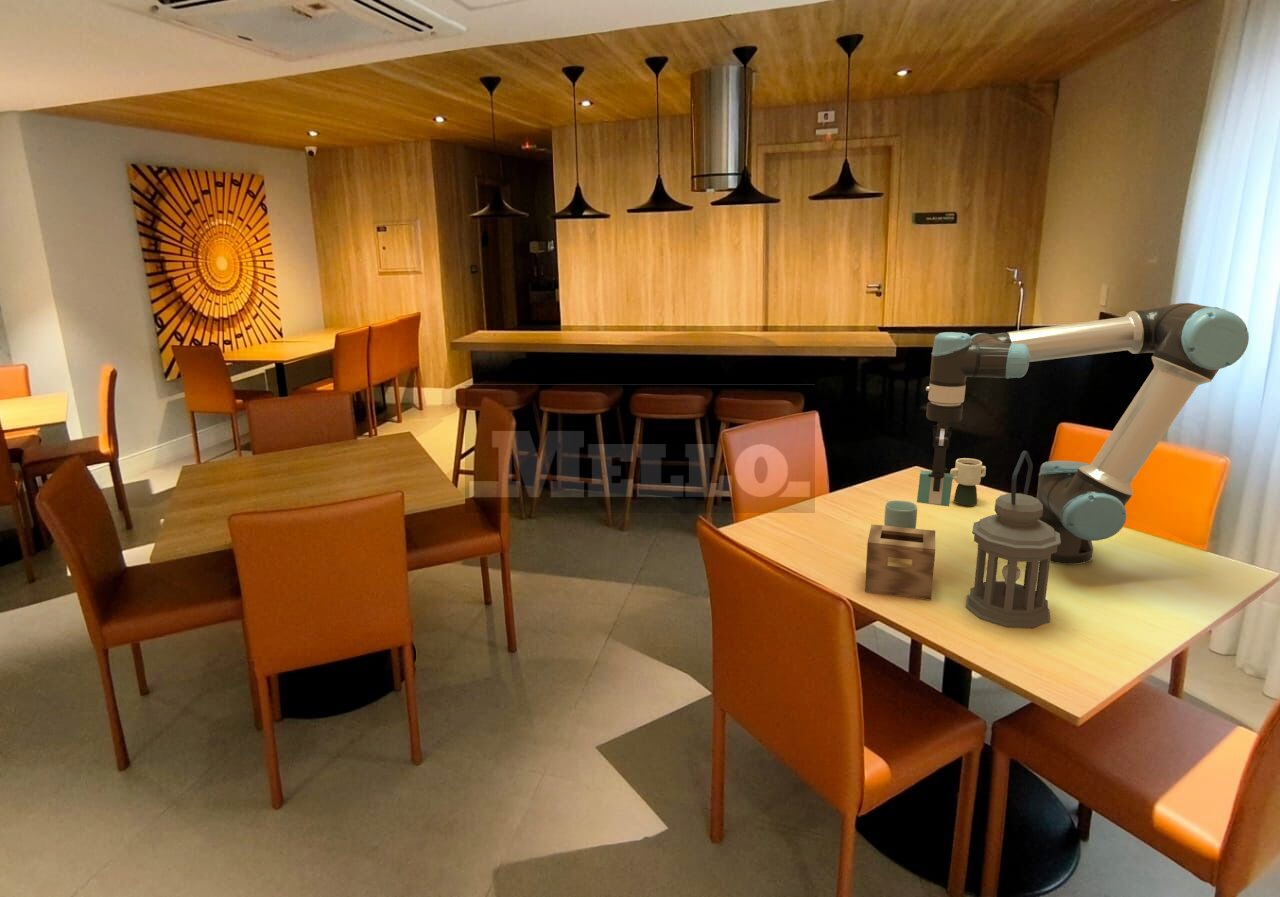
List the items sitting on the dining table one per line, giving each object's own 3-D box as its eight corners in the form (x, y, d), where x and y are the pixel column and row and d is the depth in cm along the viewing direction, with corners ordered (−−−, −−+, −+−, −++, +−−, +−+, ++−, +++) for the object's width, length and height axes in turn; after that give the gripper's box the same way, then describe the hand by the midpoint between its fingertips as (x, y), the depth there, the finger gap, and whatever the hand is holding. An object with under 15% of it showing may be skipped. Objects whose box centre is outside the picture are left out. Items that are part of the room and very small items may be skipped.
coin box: (931, 578, 174) (935, 530, 171) (931, 600, 164) (935, 549, 161) (868, 571, 179) (871, 524, 176) (864, 591, 169) (867, 542, 166)
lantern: (973, 584, 171) (988, 436, 161) (1056, 602, 162) (1077, 446, 152) (955, 615, 158) (970, 455, 148) (1045, 637, 148) (1067, 468, 139)
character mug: (975, 498, 224) (979, 456, 221) (989, 506, 217) (993, 463, 214) (941, 501, 223) (944, 459, 219) (954, 509, 216) (958, 466, 212)
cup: (916, 548, 191) (919, 511, 188) (884, 546, 193) (887, 510, 190) (912, 536, 198) (915, 500, 196) (881, 535, 200) (883, 499, 197)
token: (949, 502, 175) (952, 473, 173) (949, 506, 173) (952, 477, 171) (917, 498, 178) (920, 470, 176) (916, 502, 175) (920, 473, 173)
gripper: (928, 394, 177) (919, 488, 184) (926, 408, 163) (916, 510, 169) (963, 396, 174) (952, 491, 181) (963, 411, 160) (951, 514, 167)
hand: (934, 500), depth 175 cm, fingers closed on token, 3 cm apart
